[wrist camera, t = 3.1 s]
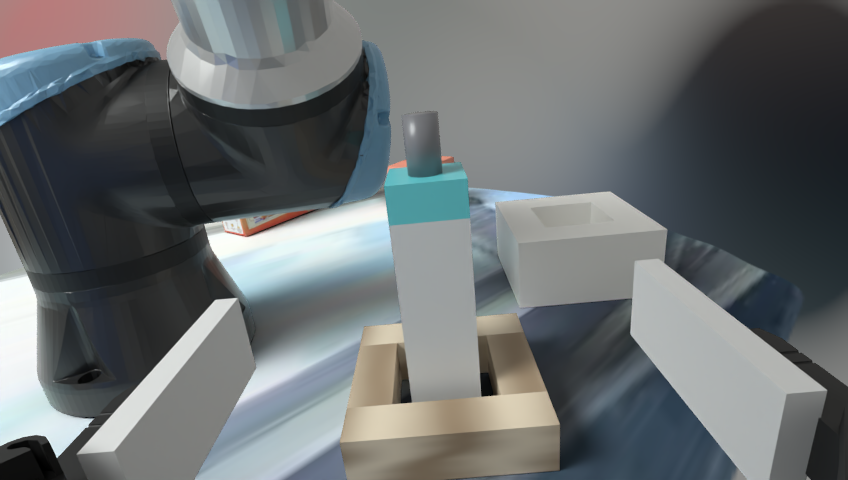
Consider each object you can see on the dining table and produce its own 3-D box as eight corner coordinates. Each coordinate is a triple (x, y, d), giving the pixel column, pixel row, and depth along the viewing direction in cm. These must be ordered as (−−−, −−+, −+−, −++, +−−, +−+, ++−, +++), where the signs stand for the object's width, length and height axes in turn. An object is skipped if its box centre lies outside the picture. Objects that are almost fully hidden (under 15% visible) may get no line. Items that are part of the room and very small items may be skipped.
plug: (415, 432, 27) (375, 122, 21) (416, 388, 31) (382, 113, 25) (483, 426, 27) (463, 113, 21) (475, 383, 31) (456, 106, 25)
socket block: (519, 308, 40) (518, 243, 38) (497, 254, 51) (495, 202, 49) (660, 295, 39) (667, 229, 37) (607, 244, 51) (609, 191, 48)
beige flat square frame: (348, 487, 24) (339, 442, 23) (369, 361, 34) (364, 326, 33) (559, 470, 24) (559, 424, 23) (517, 348, 34) (516, 313, 33)
